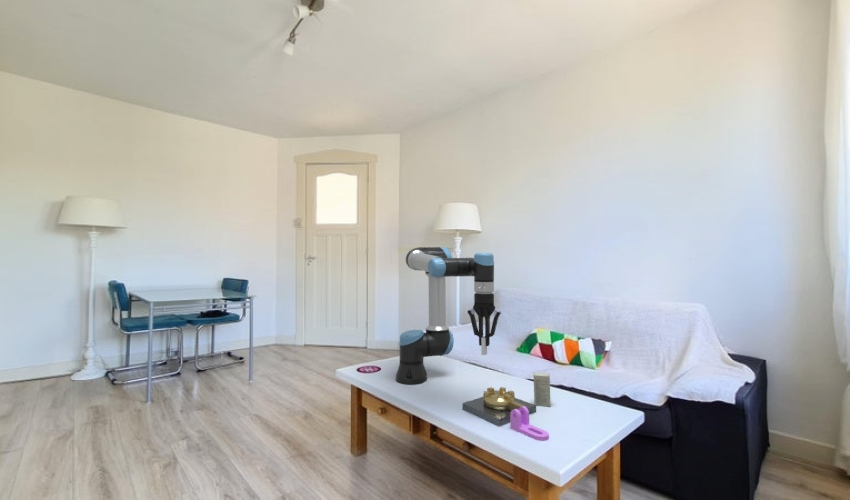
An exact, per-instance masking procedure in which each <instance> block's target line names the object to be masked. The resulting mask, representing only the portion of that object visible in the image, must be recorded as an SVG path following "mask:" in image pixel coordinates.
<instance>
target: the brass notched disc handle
mask: <svg viewBox="0 0 850 500" xmlns="http://www.w3.org/2000/svg"><path fill="white" fill-rule="evenodd" d="M506 390H507V388H506V387H502V386H500V387H499V388H498V390H495V388H494V387H491V386H489V387H487V388H486V390H484V391H483V396H482V397H483V400H484V405H485V406H487V407H489V408H493V409H499V410H505V409H509V410H511V411H512V410H514V409H519V408H520V407H522V406H525V405H523V404H520V403H518V402H516V401H515V398H516V395H515V391H514V390H508V391H506ZM525 407H526V408H527V406H525Z"/></svg>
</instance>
